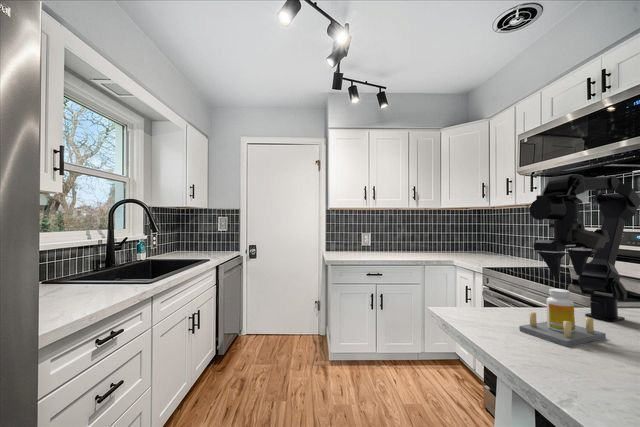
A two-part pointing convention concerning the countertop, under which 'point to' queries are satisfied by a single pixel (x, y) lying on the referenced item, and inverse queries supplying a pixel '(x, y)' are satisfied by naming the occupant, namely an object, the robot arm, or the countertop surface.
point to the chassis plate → (563, 337)
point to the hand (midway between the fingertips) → (568, 276)
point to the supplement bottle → (560, 310)
